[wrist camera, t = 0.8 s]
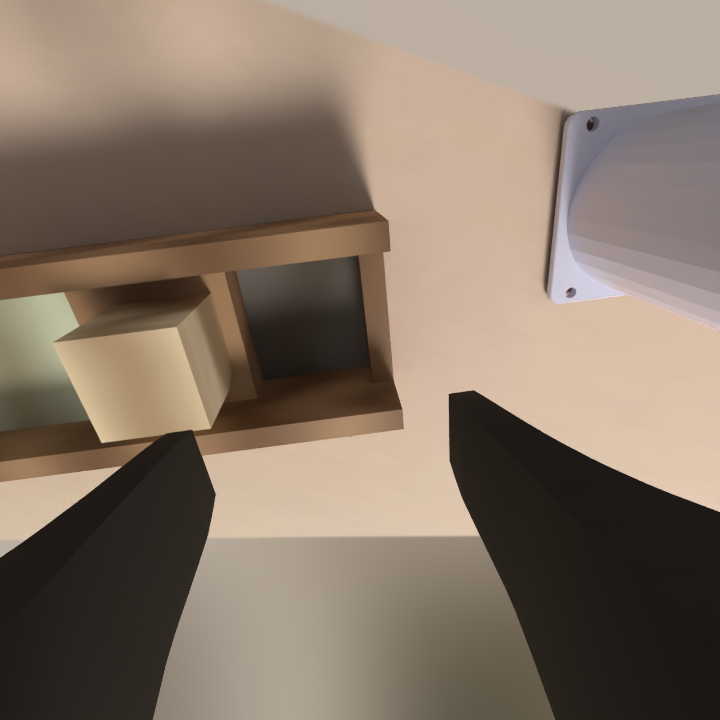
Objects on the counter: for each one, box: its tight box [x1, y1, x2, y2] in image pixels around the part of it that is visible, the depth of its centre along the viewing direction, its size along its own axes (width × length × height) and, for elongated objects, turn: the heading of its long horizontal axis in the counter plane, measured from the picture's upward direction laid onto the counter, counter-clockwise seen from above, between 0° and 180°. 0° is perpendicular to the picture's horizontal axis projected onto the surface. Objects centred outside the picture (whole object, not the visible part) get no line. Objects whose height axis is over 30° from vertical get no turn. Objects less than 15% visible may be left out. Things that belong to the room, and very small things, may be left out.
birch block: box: [52, 293, 235, 443], centre depth 15 cm, size 4×4×4 cm
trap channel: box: [0, 210, 404, 482], centre depth 17 cm, size 26×8×4 cm, turn 96°
